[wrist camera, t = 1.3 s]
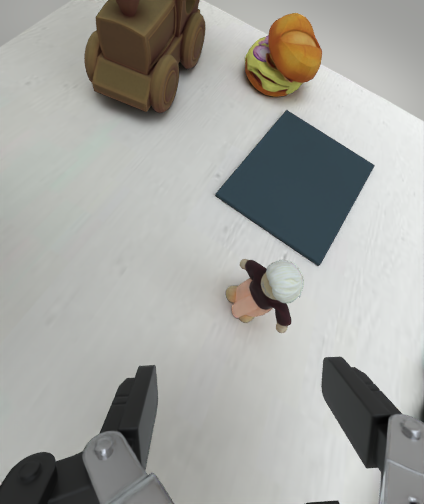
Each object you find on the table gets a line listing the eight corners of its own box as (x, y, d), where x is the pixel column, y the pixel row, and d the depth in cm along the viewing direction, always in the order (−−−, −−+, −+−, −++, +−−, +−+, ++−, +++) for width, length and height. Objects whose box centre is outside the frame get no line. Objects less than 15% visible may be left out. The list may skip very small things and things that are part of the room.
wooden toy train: (146, 24, 46) (136, -142, 31) (209, 49, 46) (230, -103, 31) (85, 100, 39) (30, -70, 23) (160, 130, 39) (156, -19, 23)
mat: (215, 195, 36) (215, 193, 36) (285, 112, 44) (286, 109, 43) (318, 266, 35) (320, 264, 34) (372, 167, 42) (374, 165, 42)
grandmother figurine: (210, 290, 32) (236, 250, 20) (235, 271, 33) (273, 223, 21) (254, 345, 30) (310, 337, 18) (278, 323, 31) (344, 302, 20)
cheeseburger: (260, 47, 48) (296, -15, 39) (302, 92, 50) (345, 42, 40) (227, 73, 44) (258, 10, 35) (273, 121, 46) (314, 73, 37)
